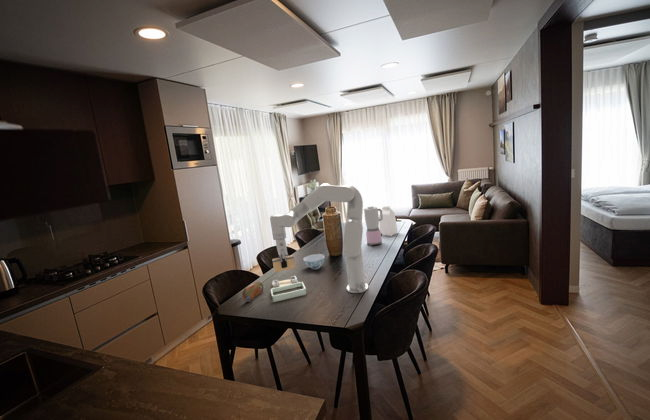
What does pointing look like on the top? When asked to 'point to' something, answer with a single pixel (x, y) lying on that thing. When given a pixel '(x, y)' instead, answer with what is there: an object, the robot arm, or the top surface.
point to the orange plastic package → (252, 291)
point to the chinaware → (314, 261)
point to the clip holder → (284, 282)
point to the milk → (388, 222)
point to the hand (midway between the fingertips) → (284, 266)
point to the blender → (373, 225)
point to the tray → (288, 294)
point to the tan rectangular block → (277, 263)
